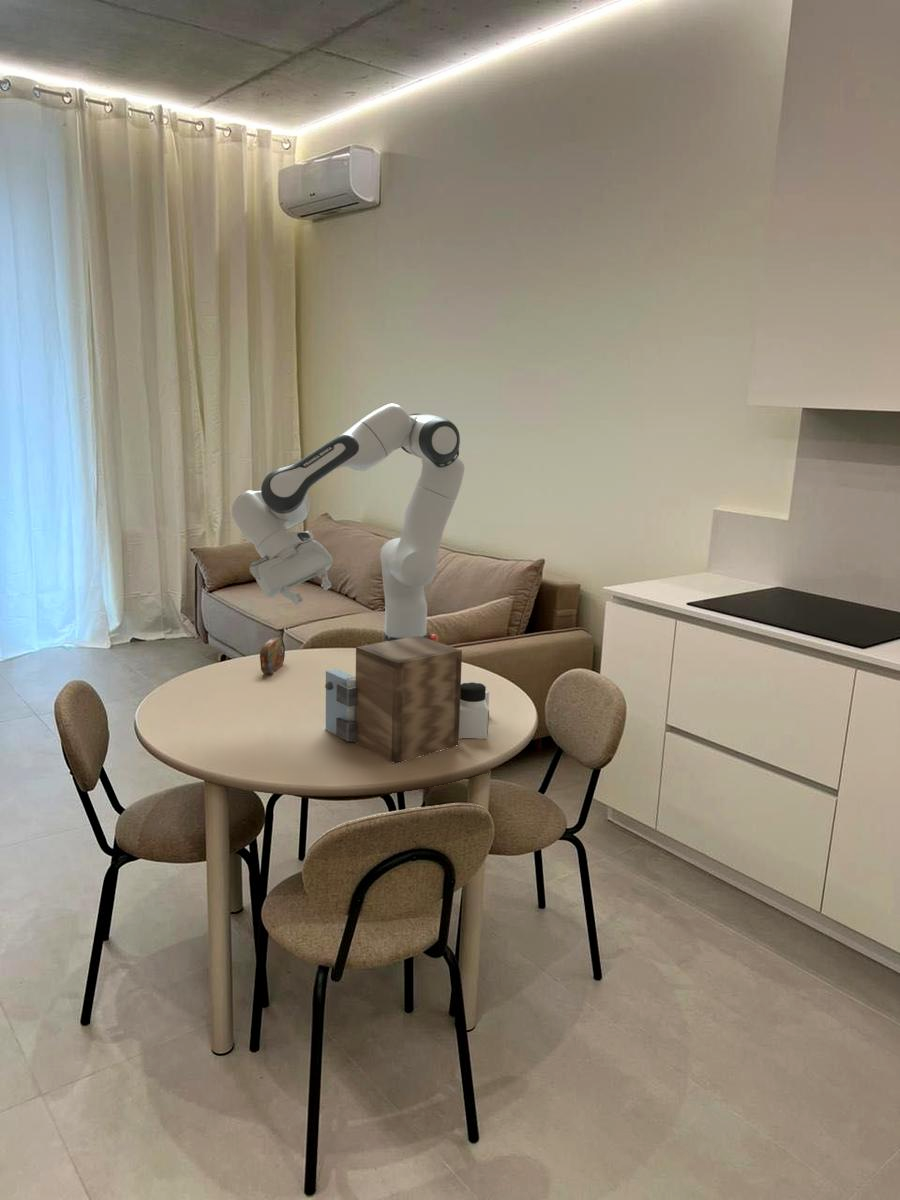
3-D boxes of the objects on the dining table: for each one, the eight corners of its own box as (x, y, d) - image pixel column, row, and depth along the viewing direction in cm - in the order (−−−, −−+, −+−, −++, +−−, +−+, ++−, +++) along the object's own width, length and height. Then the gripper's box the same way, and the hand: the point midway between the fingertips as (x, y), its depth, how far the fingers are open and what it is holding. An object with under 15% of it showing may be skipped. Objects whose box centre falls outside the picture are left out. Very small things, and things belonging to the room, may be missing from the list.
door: (320, 730, 205) (320, 671, 202) (336, 726, 208) (336, 668, 205) (345, 743, 198) (345, 683, 195) (361, 739, 201) (362, 679, 198)
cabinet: (406, 721, 213) (408, 632, 208) (458, 745, 199) (462, 650, 194) (336, 739, 200) (336, 644, 196) (386, 766, 186) (388, 664, 182)
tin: (269, 677, 243) (269, 647, 241) (258, 677, 243) (257, 647, 242) (285, 662, 258) (285, 634, 256) (275, 661, 258) (275, 633, 256)
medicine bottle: (487, 739, 203) (490, 689, 201) (456, 739, 203) (458, 688, 200) (484, 728, 210) (486, 679, 208) (454, 728, 210) (455, 679, 207)
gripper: (250, 557, 204) (286, 604, 202) (315, 529, 218) (349, 572, 216) (241, 572, 208) (276, 618, 206) (305, 544, 222) (339, 586, 220)
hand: (314, 594), depth 211 cm, fingers open, 8 cm apart
